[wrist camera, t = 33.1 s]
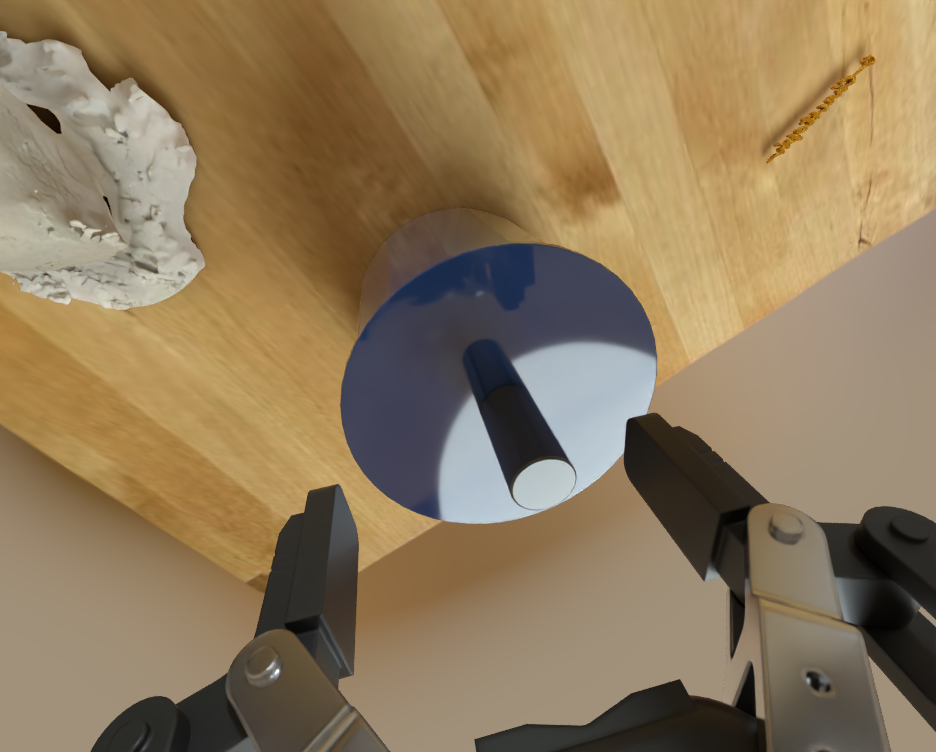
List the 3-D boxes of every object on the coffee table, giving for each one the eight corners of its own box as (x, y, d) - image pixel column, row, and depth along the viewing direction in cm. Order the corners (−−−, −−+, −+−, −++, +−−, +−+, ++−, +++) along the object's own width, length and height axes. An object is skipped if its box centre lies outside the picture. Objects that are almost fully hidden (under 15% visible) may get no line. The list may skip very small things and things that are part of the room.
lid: (655, 208, 17) (777, 238, 12) (636, 474, 24) (707, 567, 19) (295, 274, 16) (254, 340, 11) (384, 535, 23) (386, 652, 18)
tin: (543, 192, 28) (648, 225, 17) (551, 370, 34) (631, 476, 23) (336, 227, 27) (307, 288, 16) (385, 405, 33) (389, 534, 22)
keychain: (878, 65, 27) (862, 61, 28) (881, 51, 26) (864, 48, 27) (773, 170, 29) (760, 164, 30) (773, 160, 28) (759, 154, 29)
